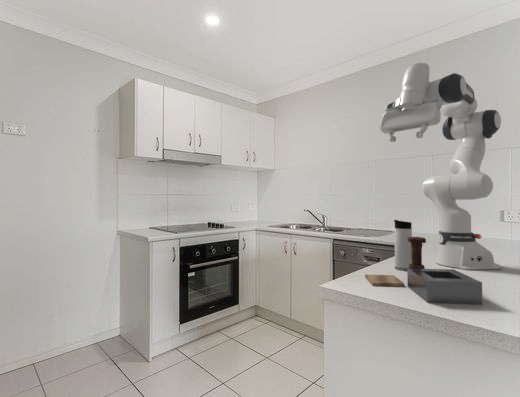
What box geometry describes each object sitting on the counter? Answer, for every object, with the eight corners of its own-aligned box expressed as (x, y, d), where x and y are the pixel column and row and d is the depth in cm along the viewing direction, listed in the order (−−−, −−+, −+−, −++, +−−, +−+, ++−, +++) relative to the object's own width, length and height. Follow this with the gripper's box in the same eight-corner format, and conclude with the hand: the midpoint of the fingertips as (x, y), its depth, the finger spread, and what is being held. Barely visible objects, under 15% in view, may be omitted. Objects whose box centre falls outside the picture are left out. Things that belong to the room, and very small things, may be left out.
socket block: (453, 288, 91) (453, 269, 91) (482, 304, 77) (482, 282, 77) (407, 286, 92) (407, 268, 92) (427, 302, 79) (426, 280, 79)
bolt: (427, 283, 96) (427, 238, 96) (411, 282, 97) (411, 238, 97) (421, 278, 102) (421, 236, 102) (406, 277, 103) (406, 236, 103)
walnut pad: (393, 278, 102) (393, 275, 102) (404, 286, 93) (404, 283, 93) (365, 277, 104) (365, 274, 104) (372, 285, 94) (372, 282, 94)
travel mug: (390, 267, 118) (390, 219, 118) (405, 266, 119) (405, 219, 119) (399, 271, 112) (399, 220, 112) (415, 270, 112) (415, 220, 112)
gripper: (446, 101, 97) (440, 138, 95) (389, 114, 114) (383, 146, 111) (439, 92, 94) (433, 130, 91) (381, 107, 110) (374, 140, 108)
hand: (405, 139), depth 101 cm, fingers open, 8 cm apart
